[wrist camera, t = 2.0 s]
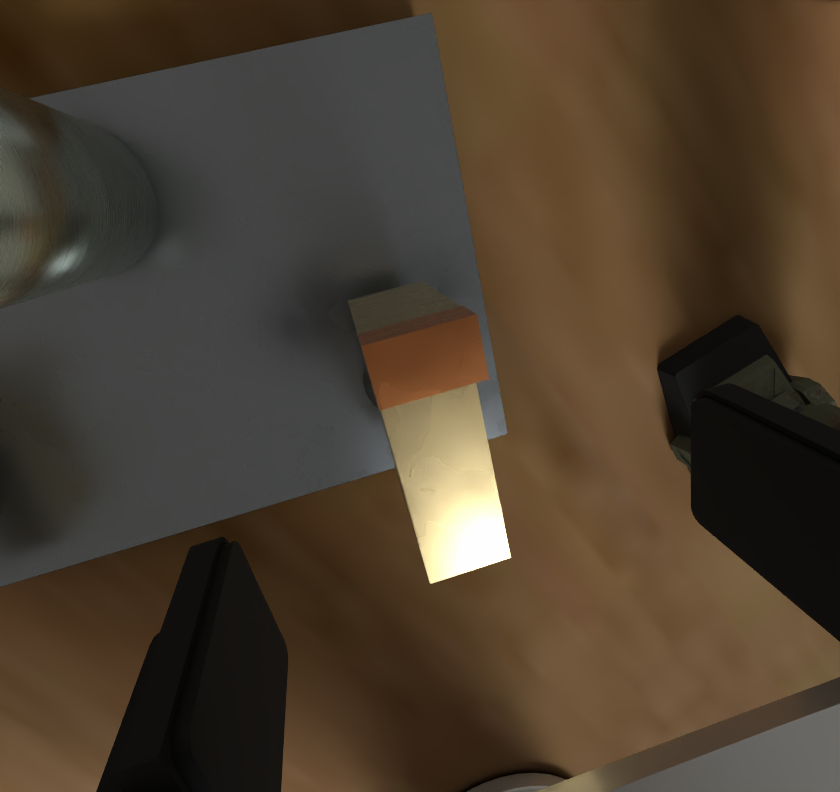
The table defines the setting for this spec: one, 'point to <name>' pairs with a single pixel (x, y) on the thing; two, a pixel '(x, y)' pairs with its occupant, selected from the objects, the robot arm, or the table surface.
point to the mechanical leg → (736, 378)
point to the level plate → (214, 284)
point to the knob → (435, 422)
